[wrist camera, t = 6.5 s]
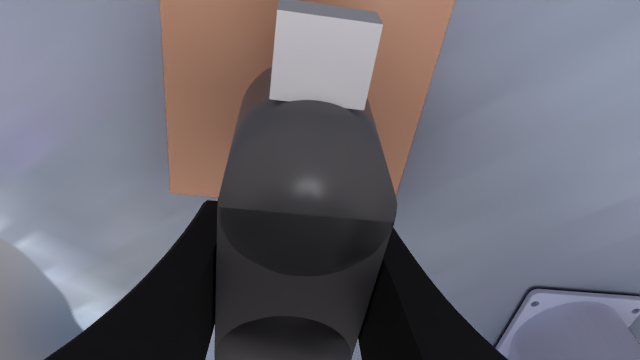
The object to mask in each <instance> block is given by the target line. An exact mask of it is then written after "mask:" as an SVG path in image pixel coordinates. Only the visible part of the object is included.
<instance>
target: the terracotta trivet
mask: <svg viewBox="0 0 640 360" xmlns="http://www.w3.org/2000/svg"><path fill="white" fill-rule="evenodd" d="M299 1H306V2H313V3H320V4H327V5H334V6H340V7H347V8H354V9H361V10H368V11H375V12H377V13H378V15H379V17H380V19H381V21H382V23H383V28H382V32H381V37H380V41H379V46H378V50H377V55H376V59H375V64H374V68H373V73H372V77H371V82H370V86H369V91H368V95H367V98H368V101H369V104H370V108H371V111H372V115H373V118H374V122H375V125H376V128H377V132H378V135H379V139H380V142H381V146H382V149H383V153H384V156H385V160H386V163H387V167H388V170H389V174H390V177H391V181H392V184H393V187H394V191H395V195H396V194H397V191H398V187H399V184H400V181H401V177H402V174H403V171H404V168H405V164H406V161H407V158H408V154H409V151H410V148H411V145H412V141H413V138H414V135H415V131H416V128H417V125H418V121H419V118H420V115H421V112H422V108H423V105H424V102H425V98H426V95H427V92H428V89H429V85H430V82H431V79H432V75H433V72H434V69H435V66H436V62H437V59H438V56H439V52H440V49H441V46H442V43H443V39H444V36H445V33H446V29H447V26H448V23H449V20H450V16H451V13H452V10H453V6H454V3H455V0H299ZM278 2H279V0H160V14H161V32H162V50H163V68H164V86H165V104H166V122H167V140H168V158H169V176H170V193H174V194H185V195H196V196H207V197H219V193H220V189H221V185H222V181H223V177H224V172H225V168H226V164H227V160H228V156H229V152H230V148H231V144H232V140H233V136H234V132H235V128H236V123H237V119H238V115H239V111H240V107H241V103H242V100H243V97H244V95H245V93H246V91H247V89H248V88H249V86H250V84H251V83H252V82H253V81H254V80H255V79H256V78H257V77H258V76H259V75H260V74H261V73H262V72H264V71H265V70H267V69H268V68H270V67H271V66H272V63H273V52H274V40H275V29H276V18H277V8H278Z"/></svg>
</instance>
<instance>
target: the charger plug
mask: <svg viewBox="0 0 640 360" xmlns="http://www.w3.org/2000/svg"><path fill="white" fill-rule="evenodd" d="M382 28H383V23H382V21H381V19H380V17H379V15H378V13H377V12H375V11H368V10H361V9H354V8H347V7H340V6H334V5H327V4H320V3H313V2H306V1H299V0H279V2H278V8H277V18H276V29H275V40H274V52H273V63H272V66H271V67H270V68H268V69H267V70H265V71H264V72H262V73H261V74H260V75H259V76H258V77H257V78H256V79H255V80H254V81H253V82H252V83H251V84H250V86H249V88H248V89H247V91H246V93H245V95H244V97H243V100H242V103H241V107H240V111H239V115H238V119H237V123H236V128H235V132H234V136H233V140H232V144H231V148H230V152H229V156H228V160H227V164H226V168H225V172H224V177H223V181H222V185H221V189H220V193H219V197H218V206H217V254H216V305H215V360H351V358H352V355H353V352H354V349H355V346H356V342H357V339H358V336H359V333H360V330H361V327H362V323H363V320H364V317H365V314H366V311H367V307H368V304H369V301H370V298H371V295H372V292H373V288H374V285H375V282H376V279H377V276H378V273H379V269H380V266H381V263H382V260H383V257H384V253H385V250H386V247H387V244H388V241H389V238H390V234H391V231H392V228H393V225H394V221H395V217H396V209H397V202H396V195H395V191H394V187H393V184H392V181H391V177H390V174H389V170H388V167H387V163H386V160H385V156H384V153H383V149H382V146H381V142H380V139H379V135H378V132H377V128H376V125H375V122H374V118H373V115H372V111H371V108H370V104H369V101H368V98H367V95H368V91H369V86H370V82H371V77H372V73H373V68H374V64H375V59H376V55H377V50H378V46H379V41H380V37H381V32H382Z"/></svg>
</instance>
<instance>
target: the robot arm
mask: <svg viewBox="0 0 640 360" xmlns="http://www.w3.org/2000/svg"><path fill="white" fill-rule="evenodd" d="M217 206H218V201H210V200H207V201H206V202H204V203H203V205H202V206H201V208H200V210H199V211H198V213H197V214H196V216H195V217H194V219H193V220H192V221H191V223H190V224H189V226H188V227H187V228H186V230H185V231H184V232H183V234H182V235H181V236H180V237H179V239H178V240H177V241H176V242H175V244H174V245H173V246H172V247H171V249H170V250H169V251H168V252H167V253H166V254H165V256H164V257H163V258H162V259H161V260H160V261H159V262H158V263H157V264H156V265H155V267H154V268H153V269H152V270H151V271H150V272H149V273H148V274H147V275H146V276H145V277H144V278H143V279H142V280H141V281H140V282H139V283H138V284H137V285H136V286H135V287H134V288H133V289H132V290H131V291H130V292H129V293H128V294H127V295H126V296H125V297H124V298H123V299H121V300H120V301H119V302H118V303H117V304H116V305H115V306H114V307H112V308H111V309H110V310H109V311H108V312H106V313H105V314H104V315H103V316H102V317H100V318H99V319H98V320H97V321H96V322H95V323H93V324H92V325H91V326H90V327H88V328H87V329H86V330H84V331H83V332H82V333H81V334H79V335H78V336H77V337H75V338H74V339H72V340H71V341H70V342H68V343H67V344H66V345H64V346H63V347H61V348H60V349H58V350H57V351H56V352H54V353H53V354H51V355H50V356H49V357H47V358H46V359H44V360H205V358H206V355H207V351H208V347H209V343H210V340H211V336H212V332H213V328H214V325H215V305H216V254H217ZM639 315H640V296H627V295H614V294H600V293H587V292H573V291H560V290H546V289H534V290H532V291H530V292H529V294H528V295H527V297H526V298H525V300H524V302H523V303H522V305H521V307H520V308H519V310H518V312H517V313H516V315H515V316H514V318H513V320H512V321H511V323H510V325H509V326H508V328H507V330H506V331H505V333H504V334H503V336H502V338H501V339H500V341H499V343H498V344H497V346H496V348H494V347H493V346H492V345H491V344H490V343H489V342H488V341H487V340H486V339H484V338H483V337H482V336H481V335H480V334H479V333H478V332H477V331H476V330H475V329H474V328H473V327H472V326H471V325H470V324H469V323H468V322H467V321H466V320H465V319H464V318H463V317H462V316H461V315H460V314H459V313H458V311H457V310H456V309H455V308H454V307H453V306H452V305H451V304H450V303H449V302H448V300H447V299H446V298H445V297H444V296H443V294H442V293H441V292H440V291H439V290H438V288H437V287H436V286H435V285H434V284H433V282H432V281H431V280H430V278H429V277H428V276H427V275H426V273H425V272H424V270H423V269H422V268H421V266H420V265H419V264H418V262H417V261H416V260H415V258H414V257H413V256H412V254H411V253H410V251H409V250H408V248H407V247H406V246H405V244H404V243H403V241H402V240H401V238H400V237H399V235H398V234H397V232H396V231H395V229H394V228H392V231H391V234H390V238H389V241H388V244H387V247H386V250H385V253H384V257H383V260H382V263H381V266H380V269H379V273H378V276H377V279H376V282H375V285H374V288H373V292H372V295H371V298H370V301H369V304H368V307H367V311H366V314H365V317H364V320H363V323H362V327H361V330H360V333H359V336H358V339H359V345H360V351H361V356H362V360H640V344H639V343H638V341H637V340H636V338H635V337H634V336H633V334H632V333H631V331H630V330H629V328H628V327H629V326H630V325H631V324H632V323H633V322H634V320H635V319H636V318H637V317H638V316H639Z"/></svg>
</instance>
